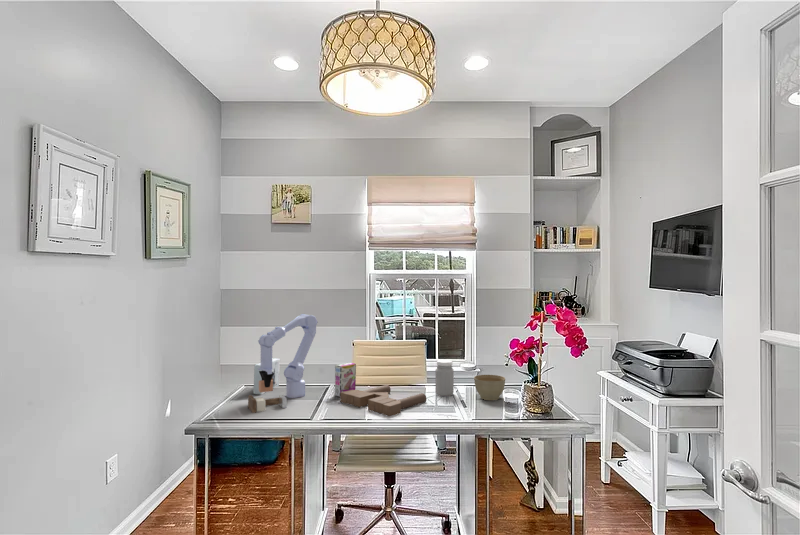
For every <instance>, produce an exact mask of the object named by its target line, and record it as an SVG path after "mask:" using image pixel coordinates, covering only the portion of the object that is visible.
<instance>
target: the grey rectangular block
mask: <svg viewBox="0 0 800 535" xmlns="http://www.w3.org/2000/svg"><path fill="white" fill-rule="evenodd" d="M278 398H279V404H278V405H279V406H280V408H282V409H284V408H287V406H288V405H287V404H288V402H287V401H288V397H286V395H284V394H283V395H278Z"/></svg>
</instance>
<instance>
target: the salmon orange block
mask: <svg viewBox="0 0 800 535" xmlns="http://www.w3.org/2000/svg"><path fill="white" fill-rule="evenodd" d="M259 391H260V392H266V393H270V392H273V391H274V389H273V381H272V380H271V383H270V387H265V384H264V380H261V381H259Z"/></svg>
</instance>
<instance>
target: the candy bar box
mask: <svg viewBox="0 0 800 535" xmlns="http://www.w3.org/2000/svg"><path fill="white" fill-rule="evenodd" d="M334 368H335V369H334V396H335V397H337V398H340V393H341V392H345V391H349V390H356V381H357V380H356V376H357V370H356V369H357V363H354V362H347V363H341V364H340V363H339V364H335V365H334Z"/></svg>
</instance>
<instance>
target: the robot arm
mask: <svg viewBox="0 0 800 535" xmlns="http://www.w3.org/2000/svg"><path fill="white" fill-rule="evenodd" d="M318 323H319V322H318V319H317V317H316V316H315V315H314V314H305V313H301V314H299V315H298V316H296V317H295V318H294V319H292V320H291V321H289V322H288V323H287V324H285V325H284V326H276V327H274V329H272V330H271V331H267V332H266V333H265V334H262V335H261V336H260V337H259V338H258V340H257V342H258V344H259V345H260V362H259V363H260V368H258V370H262V371H259V373H260V375H261V378H262V380H264V384H265V387H270V383H271V379H272V377H273V375H274V373H272V369H273V367H272V358H273V346H274V345H275V343H276V342H278V341H279V340H281V339H282V338H283V337H285V336H286V334H287V333H288V332H290V331H291V330H294V329H295V328H297V327H301V329H303V332H304V334H303V337H302V339H301V342H300V343H299V346H298V348H297V351H296V353H295V355H294V357H293V360H292V361H290V362H289V363H288V365H287V367H285V369H284V370H283V376H284V377H285V380H286V381H285V382H286V383H285V384H286V387H285V388H286V390H285V394H286V395H285V397H286V398H287V399H288V398H289V399H294V398H295V399H296V398H300V397H306V382H305V380H304V379H303V377H304V371H305V366H304V362H305V360H306V358H307V355H308V353H309V350H310V349H311V346H312V343H313V342H314V338H315V337H316V334H317V325H318Z"/></svg>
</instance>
